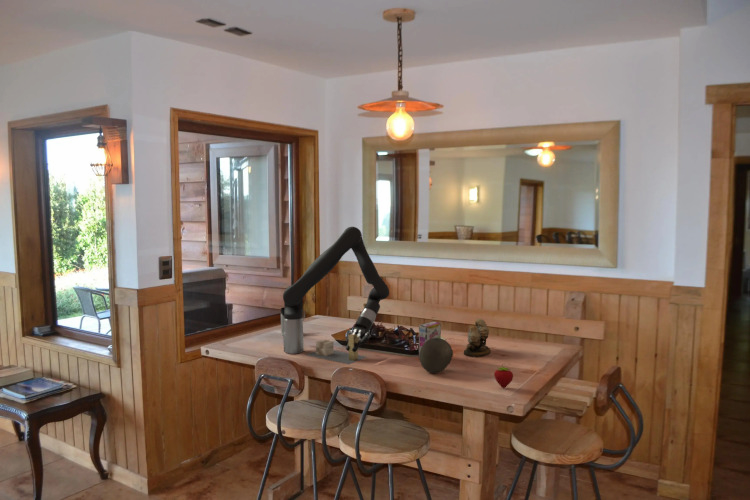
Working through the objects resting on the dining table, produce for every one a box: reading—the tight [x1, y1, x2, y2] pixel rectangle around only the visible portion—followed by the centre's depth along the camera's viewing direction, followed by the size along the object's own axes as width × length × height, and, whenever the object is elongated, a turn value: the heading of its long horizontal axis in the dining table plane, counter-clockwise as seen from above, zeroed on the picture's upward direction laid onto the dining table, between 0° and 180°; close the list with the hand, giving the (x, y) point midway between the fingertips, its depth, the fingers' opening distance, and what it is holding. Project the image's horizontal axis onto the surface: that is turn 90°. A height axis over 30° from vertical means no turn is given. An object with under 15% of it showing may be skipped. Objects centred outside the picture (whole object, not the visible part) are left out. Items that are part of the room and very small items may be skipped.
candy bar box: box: [418, 321, 442, 360], centre depth 270 cm, size 11×5×16 cm, turn 134°
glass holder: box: [280, 307, 306, 337], centre depth 321 cm, size 9×14×15 cm, turn 107°
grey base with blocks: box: [305, 333, 368, 365], centre depth 273 cm, size 28×14×12 cm, turn 53°
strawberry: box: [493, 364, 514, 389], centre depth 225 cm, size 6×8×10 cm
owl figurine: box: [463, 318, 491, 358], centre depth 277 cm, size 18×12×17 cm, turn 150°
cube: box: [315, 339, 335, 356], centre depth 277 cm, size 6×6×6 cm
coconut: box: [418, 337, 454, 374], centre depth 247 cm, size 14×14×15 cm
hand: (350, 350), depth 264 cm, fingers closed on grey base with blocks, 3 cm apart
